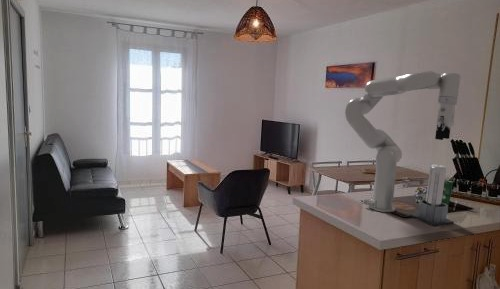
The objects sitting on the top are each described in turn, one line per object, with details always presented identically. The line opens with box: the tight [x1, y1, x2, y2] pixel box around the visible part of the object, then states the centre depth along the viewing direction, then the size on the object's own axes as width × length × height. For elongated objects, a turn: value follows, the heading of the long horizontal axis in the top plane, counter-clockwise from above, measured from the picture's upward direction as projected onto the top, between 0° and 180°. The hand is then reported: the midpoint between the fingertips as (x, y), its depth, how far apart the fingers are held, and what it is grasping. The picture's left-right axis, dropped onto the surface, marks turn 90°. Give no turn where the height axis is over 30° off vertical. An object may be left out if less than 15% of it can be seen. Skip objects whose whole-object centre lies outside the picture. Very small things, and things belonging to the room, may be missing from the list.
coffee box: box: [442, 179, 454, 206], centre depth 198 cm, size 8×3×13 cm, turn 58°
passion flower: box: [413, 186, 428, 203], centre depth 196 cm, size 11×11×12 cm
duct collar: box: [409, 199, 455, 227], centre depth 168 cm, size 13×13×8 cm
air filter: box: [425, 164, 447, 207], centre depth 167 cm, size 6×6×25 cm
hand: (442, 138), depth 164 cm, fingers open, 9 cm apart
